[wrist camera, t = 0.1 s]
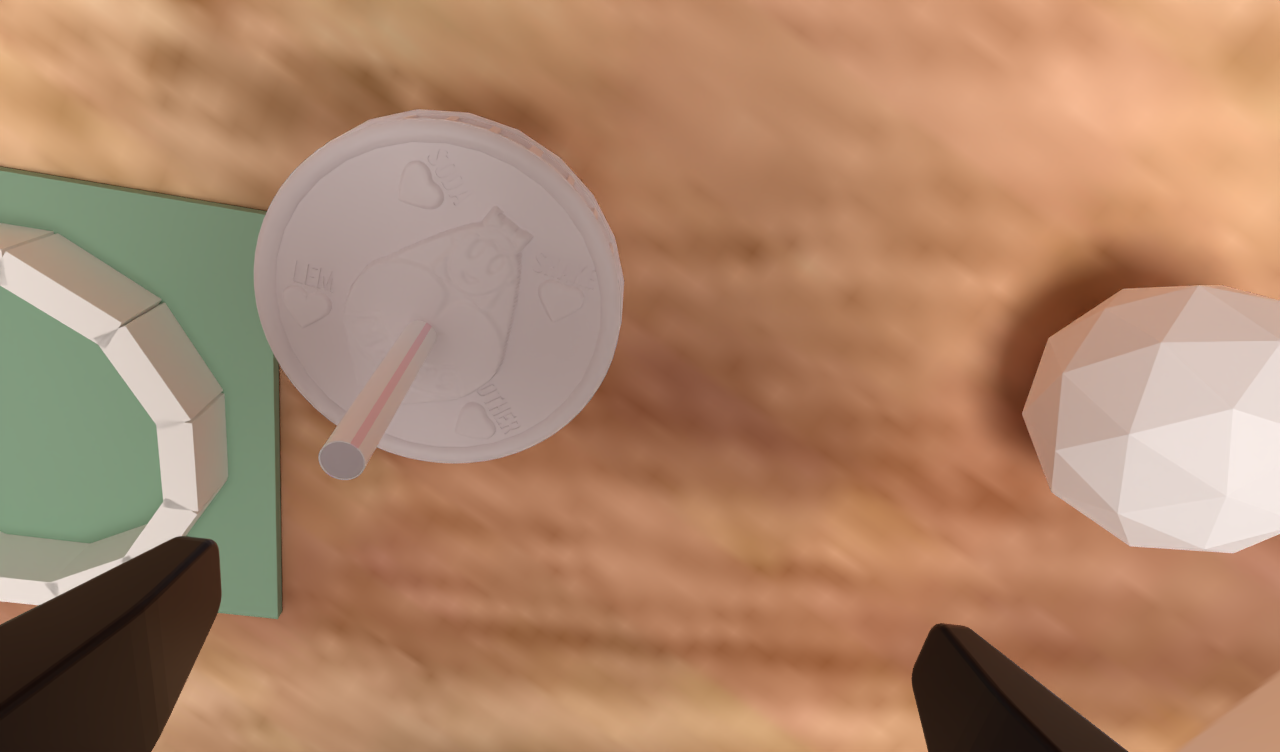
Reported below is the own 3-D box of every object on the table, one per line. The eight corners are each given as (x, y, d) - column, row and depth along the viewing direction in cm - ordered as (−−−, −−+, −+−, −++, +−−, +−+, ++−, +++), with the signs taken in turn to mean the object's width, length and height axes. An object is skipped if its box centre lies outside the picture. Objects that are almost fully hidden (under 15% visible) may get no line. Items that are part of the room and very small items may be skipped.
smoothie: (351, 211, 21) (-19, 459, 9) (484, 30, 20) (264, 3, 7) (526, 343, 23) (434, 704, 11) (660, 190, 22) (746, 400, 9)
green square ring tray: (282, 611, 27) (254, 660, 25) (-167, 563, 25) (-239, 612, 23) (276, 212, 21) (239, 232, 19) (-310, 114, 20) (-425, 123, 17)
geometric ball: (1004, 314, 27) (1041, 261, 19) (1276, 307, 24) (1443, 241, 16) (1007, 526, 26) (1046, 557, 19) (1287, 543, 23) (1466, 588, 16)
